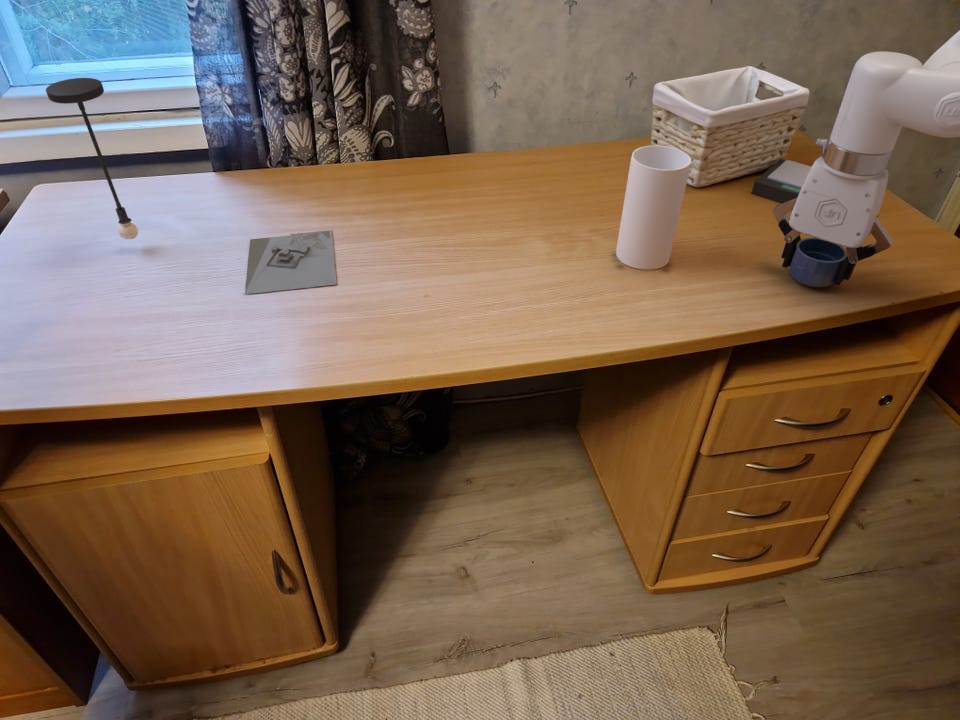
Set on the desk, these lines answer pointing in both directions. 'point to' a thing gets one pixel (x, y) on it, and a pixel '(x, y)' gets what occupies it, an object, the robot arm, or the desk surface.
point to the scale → (781, 181)
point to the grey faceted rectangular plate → (290, 262)
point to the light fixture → (91, 132)
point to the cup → (652, 206)
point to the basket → (727, 121)
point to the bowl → (816, 262)
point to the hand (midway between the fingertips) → (813, 271)
